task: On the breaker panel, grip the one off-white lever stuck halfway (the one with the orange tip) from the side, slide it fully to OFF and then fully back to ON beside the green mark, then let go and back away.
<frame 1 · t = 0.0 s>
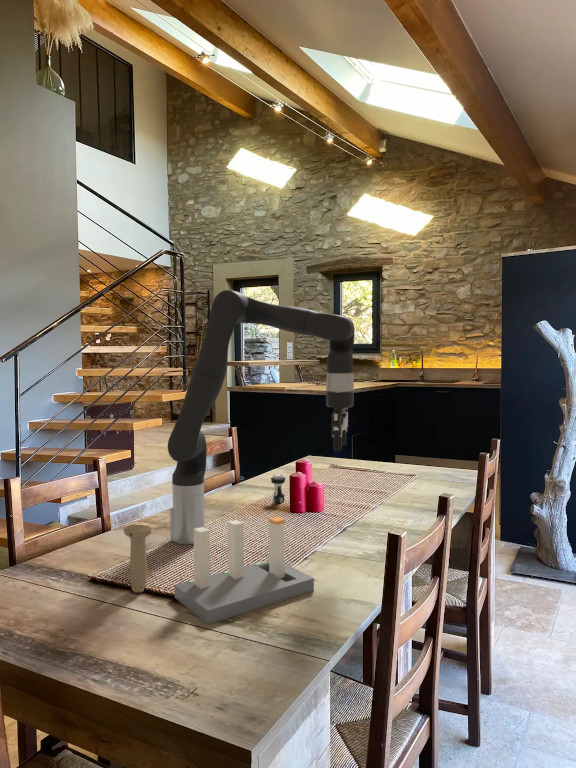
hand: (339, 448, 161), 29 cm above the table, tool pointing down, fingers open, 8 cm apart
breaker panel: (245, 594, 136), on the table
handle: (138, 591, 138), on the table
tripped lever: (276, 547, 140), point 9 cm above the table, slide at 4.0 cm
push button: (277, 503, 213), on the table
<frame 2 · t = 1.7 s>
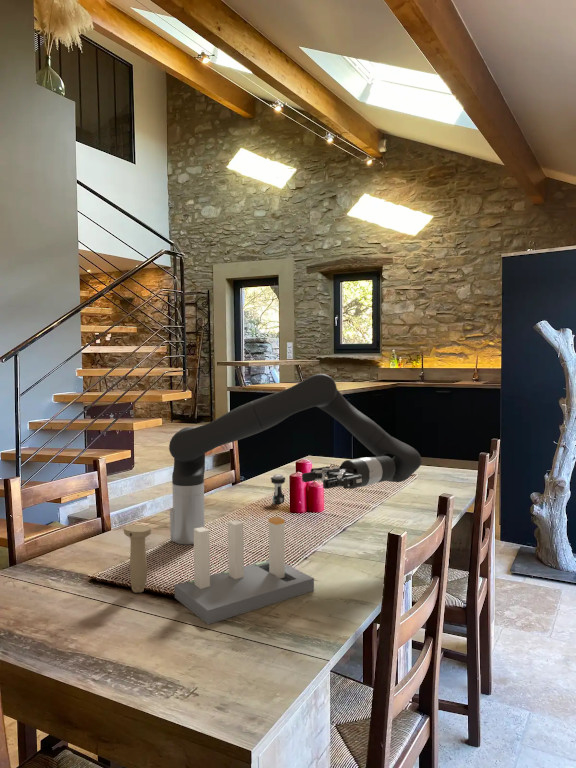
hand: (313, 481, 146), 24 cm above the table, tool horizontal, fingers open, 8 cm apart
nothing on the table moved.
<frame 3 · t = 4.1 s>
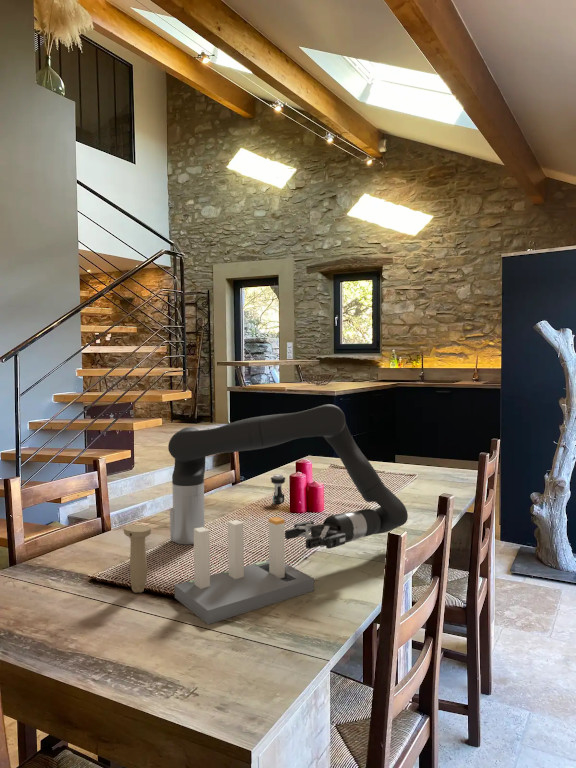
hand: (295, 539, 144), 10 cm above the table, tool horizontal, fingers open, 8 cm apart
nothing on the table moved.
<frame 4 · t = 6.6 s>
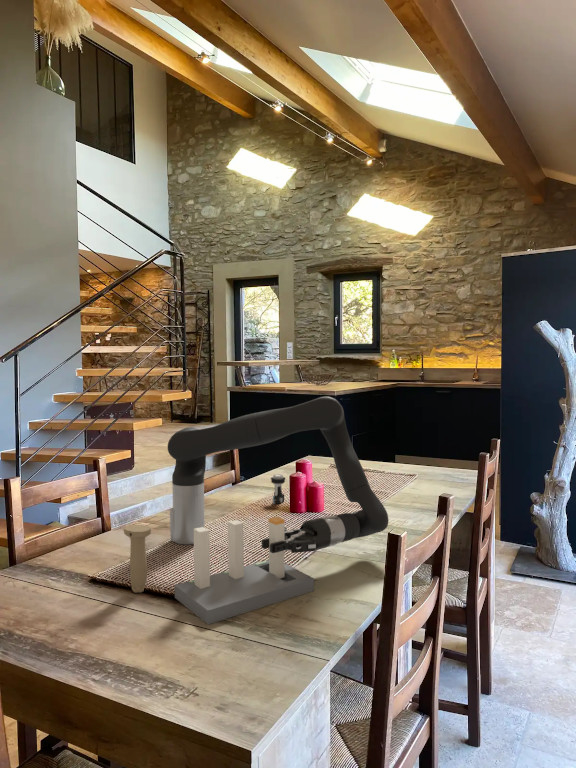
hand: (266, 546, 139), 10 cm above the table, tool horizontal, fingers closed on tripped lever, 3 cm apart
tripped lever: (276, 547, 140), point 9 cm above the table, slide at 4.0 cm, touching gripper
everything else where it was.
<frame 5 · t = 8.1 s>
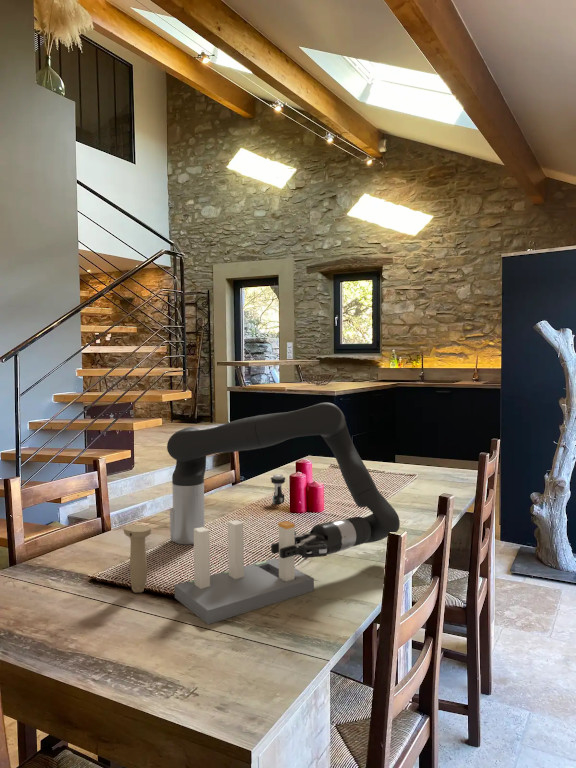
hand: (276, 551, 135), 10 cm above the table, tool horizontal, fingers closed on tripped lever, 3 cm apart
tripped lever: (286, 552, 137), point 9 cm above the table, slide at 0.0 cm, touching gripper
everything else where it was.
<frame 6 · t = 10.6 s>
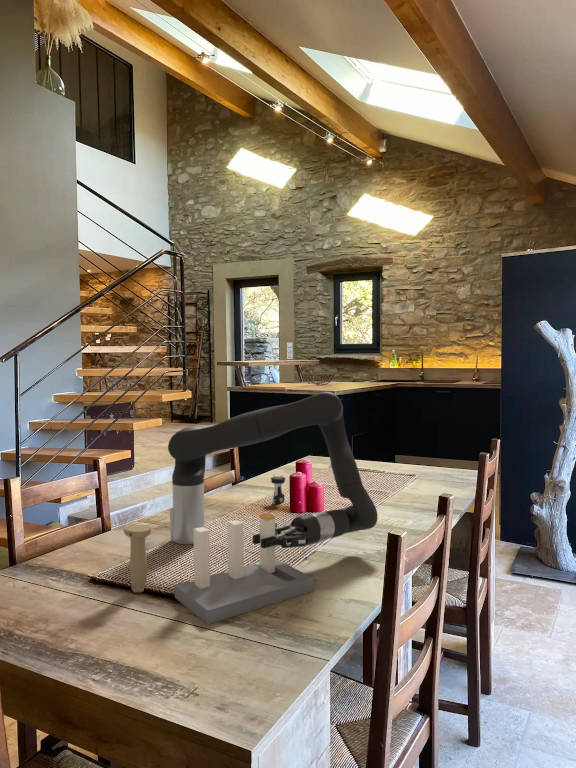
hand: (257, 541, 142), 10 cm above the table, tool horizontal, fingers closed on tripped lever, 3 cm apart
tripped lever: (267, 543, 144), point 9 cm above the table, slide at 8.0 cm, touching gripper
everything else where it was.
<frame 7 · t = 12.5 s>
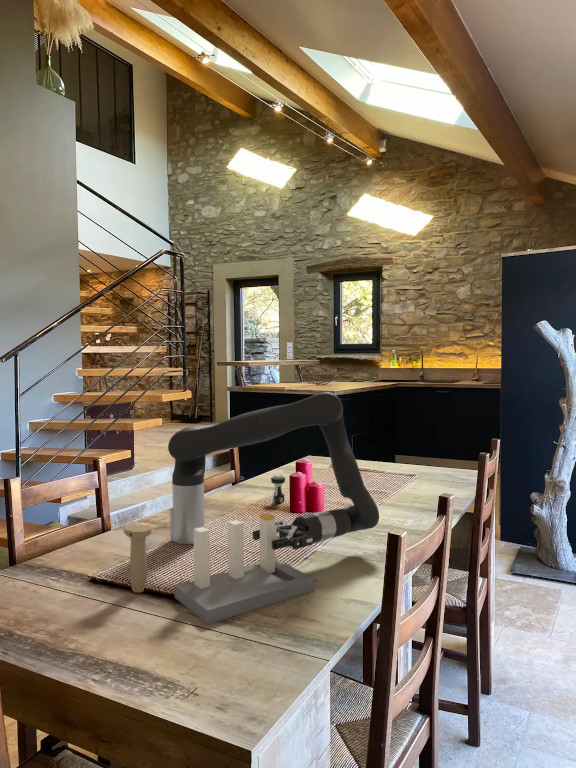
hand: (262, 540, 143), 10 cm above the table, tool horizontal, fingers open, 8 cm apart
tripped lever: (267, 543, 144), point 9 cm above the table, slide at 8.0 cm
everything else where it was.
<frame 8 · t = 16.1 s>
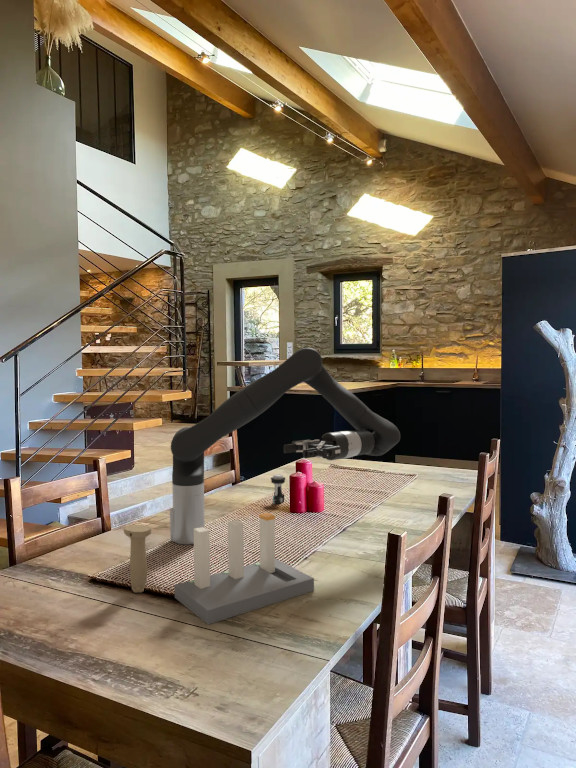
hand: (293, 451, 152), 30 cm above the table, tool horizontal, fingers open, 8 cm apart
nothing on the table moved.
at the end: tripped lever slide at 8.0 cm; the gripper is holding nothing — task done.
